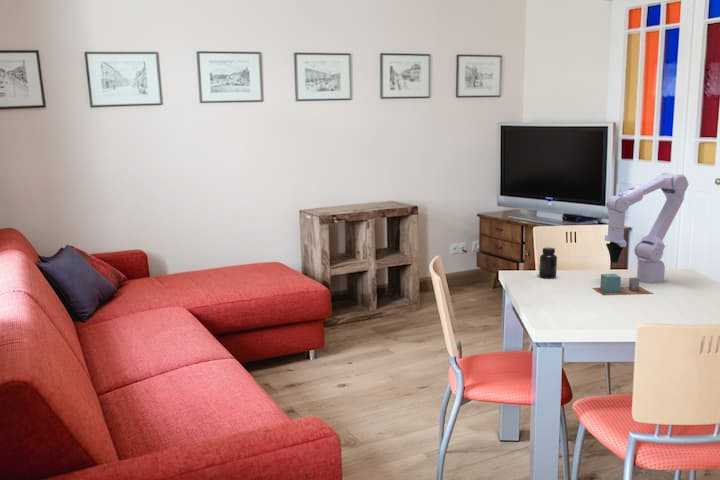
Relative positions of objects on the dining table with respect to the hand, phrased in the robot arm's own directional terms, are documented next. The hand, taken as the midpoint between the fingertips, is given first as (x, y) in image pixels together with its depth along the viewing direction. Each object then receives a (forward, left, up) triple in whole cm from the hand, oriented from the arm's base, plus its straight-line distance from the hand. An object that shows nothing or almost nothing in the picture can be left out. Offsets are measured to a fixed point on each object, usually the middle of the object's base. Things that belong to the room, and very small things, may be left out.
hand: (614, 262), depth 257 cm
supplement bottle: (+20, -17, -10) cm, 28 cm away
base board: (+2, +11, -9) cm, 15 cm away
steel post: (-3, +11, -9) cm, 14 cm away
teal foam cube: (+6, +11, -9) cm, 15 cm away
